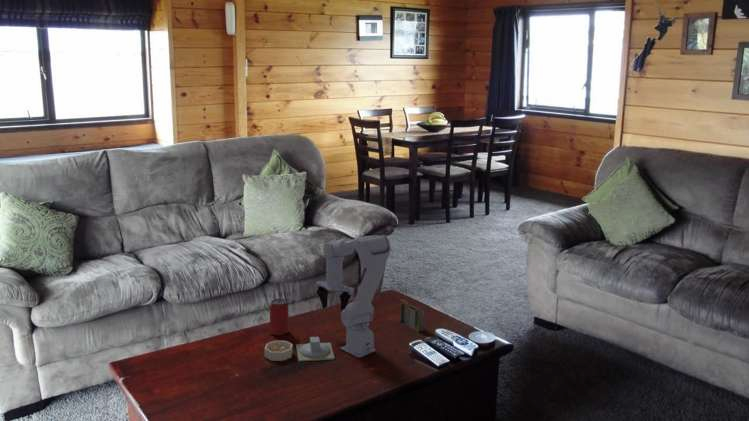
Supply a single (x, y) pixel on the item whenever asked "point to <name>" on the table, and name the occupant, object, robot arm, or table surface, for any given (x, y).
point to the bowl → (278, 350)
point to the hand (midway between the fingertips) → (334, 309)
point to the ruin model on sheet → (412, 316)
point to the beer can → (279, 317)
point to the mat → (303, 358)
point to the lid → (314, 348)
